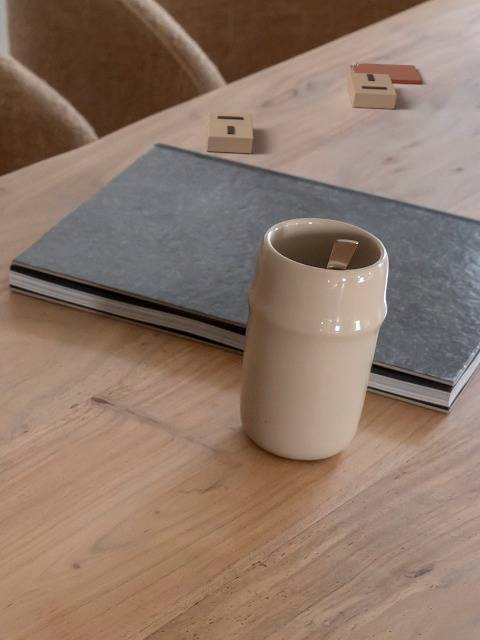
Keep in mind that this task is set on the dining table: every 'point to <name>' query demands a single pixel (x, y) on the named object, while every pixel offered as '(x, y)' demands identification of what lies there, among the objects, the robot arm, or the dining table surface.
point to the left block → (229, 132)
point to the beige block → (371, 90)
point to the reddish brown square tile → (391, 72)
